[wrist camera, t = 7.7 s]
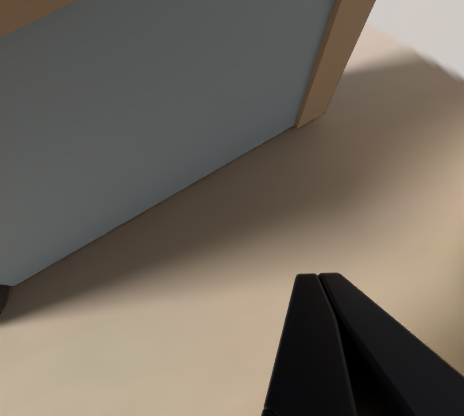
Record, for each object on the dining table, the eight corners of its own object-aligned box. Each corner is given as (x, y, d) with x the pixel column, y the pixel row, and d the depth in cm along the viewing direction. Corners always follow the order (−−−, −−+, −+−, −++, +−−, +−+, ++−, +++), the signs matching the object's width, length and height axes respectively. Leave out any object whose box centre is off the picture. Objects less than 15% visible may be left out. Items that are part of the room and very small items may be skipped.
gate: (16, 290, 16) (-688, 208, 4) (-5, 246, 16) (-696, 40, 4) (324, 112, 18) (524, -328, 6) (298, 77, 18) (431, -403, 6)
